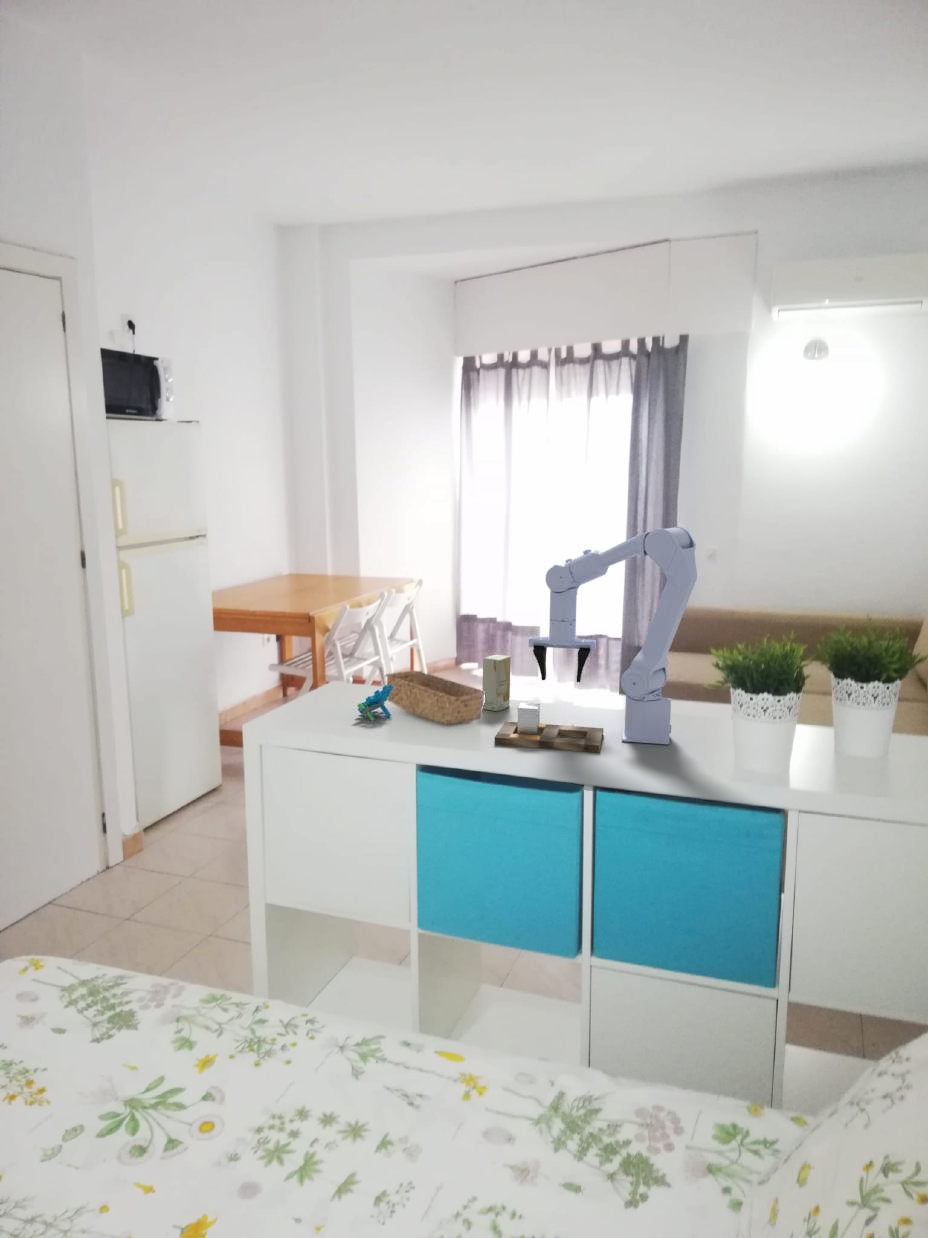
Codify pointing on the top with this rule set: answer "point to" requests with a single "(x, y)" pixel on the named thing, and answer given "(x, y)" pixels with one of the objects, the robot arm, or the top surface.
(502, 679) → the skincare box
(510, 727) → the socket plate
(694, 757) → the top surface
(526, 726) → the steel block
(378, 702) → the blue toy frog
